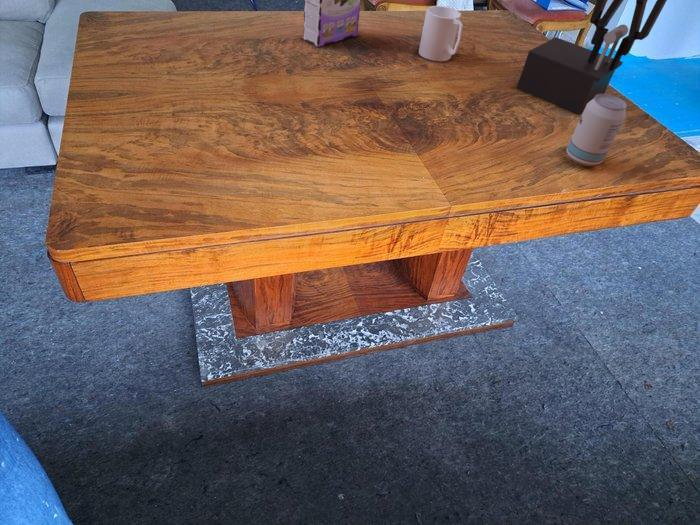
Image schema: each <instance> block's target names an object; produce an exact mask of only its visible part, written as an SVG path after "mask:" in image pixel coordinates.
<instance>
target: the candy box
mask: <svg viewBox="0 0 700 525" xmlns="http://www.w3.org/2000/svg"><path fill="white" fill-rule="evenodd" d="M361 1H362V0H304V7H303V32H302V33H303V37H302V39H303V40H305V41H306V42H308V43H310V44H311V45H313V46H315V47H317V48H318V47H323V46H325V45H330V44H333V43H336V42H339V41H343V40H346V39H349V38H353V37H356V36H358V34H359V22H360V12H361Z"/></svg>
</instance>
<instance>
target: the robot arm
mask: <svg viewBox="0 0 700 525" xmlns="http://www.w3.org/2000/svg"><path fill="white" fill-rule="evenodd" d="M648 1H649V0H635V8H634V11H633V15H632V19H631V22H630V27H629V29H628V33H627V34H628V35H625V36H624V37H622V38H621V42H620V44H619V46H618V48H617V50H616V52H615V54H614V57H613V58H614V59H613V61H612V63H611V65H610V67H609V69H608V70H611V71H612V70H614V69H615V68H616V67H617V65H618V63H619V61H621V59H622V58H623V56H624V57H626V56H627V55H628V54H629V53H630V52H631V49H632V48H633V46H634V44H635V41H636V40H640V41H642V40H644V39H646V38H647V37H648V36H649V35H650V33H651V31H652V29H653V27H654V26H655V24H656V22H657V20H658V18H659V16H660V15H661V12H662V11H663V9H664V6H665V5H666V3H667V1H668V0H656V1H655V3H654V5H653V7H652V8H651V11H650V12H649V15H648V17H647V18H646V20H645V22H644V23H643V18H644V15H645V11H646V6H647V3H648ZM607 2H608V0H597V1H596V3H595V5H594V8H593V11H592V13H591V16H590V19H589V23H590V24H592V25H594V26H595V31H594V33H593V35H592V38H591V40H590V44H591V45H593V47H592V49H591V50H592V52H591V54H590V56H589V59H588V61H587V62H590V63H591V62H593V61H594V60H595V59H596V57H597V55H598V53H600V51H601V48H602V46H603V43H604V36H605V34H606V33H608V32H609V31H610V30H609V28H606V27H607V26H608V24H609V23H610V21H611V20H612V19H613V17H614V15H615V14H616V12H617V11H618V10H619V8H620V7H621V5H622V4H623V2H624V0H612V2H611V3H610V5H609V6H608V8H607V9H606V11H605V13H604V10H605V8H606V5H607ZM642 23H643V26H642ZM641 26H642V28H641ZM640 29H641V30H640ZM615 70H616V69H615Z"/></svg>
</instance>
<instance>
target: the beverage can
mask: <svg viewBox="0 0 700 525" xmlns="http://www.w3.org/2000/svg"><path fill="white" fill-rule="evenodd" d="M627 107H628V104H627V102H625V100H623V99H622V98H620V97H618V96H615V95H613V94H609V93H604V94H597V95H596V96H595V97H594V99H592V100H591V101H590V102H588V103H587V105H586V107H585V109H584V111H583V112H582V113H581V116H580V118H579V120H578V121H577V122H578V123H577V125H576V127H575V129H574V131H573V134H572V136H571V138H570V140H569V142H568V144H567V147H566V150H565V151H566V154H567V156H568V157H569V159H570V160H571V161H572V162H574V163H575V164H577V165H580V166H584V167H593V166H597V165H600V164H602V163H603V161H604V159H605V157H606V155H607V154H608V152H609V150H610V148H611V146H612V144H613V142H614V140H615V138H616V137H617V135H618V133H619V131H620V130H621V127H622V125H623V123H624V121H625V119H626V117H627Z"/></svg>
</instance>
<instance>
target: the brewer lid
mask: <svg viewBox="0 0 700 525" xmlns="http://www.w3.org/2000/svg"><path fill="white" fill-rule="evenodd" d="M627 34H629V27H628V25H626V24H620V25H618V26H616V27H614V28H613V29H611V30H608V32H607V33H606V34H605V36H604V41H603V43H605V44H604V47H603V49H602V51H601V52H599V53H598V55H597V57H596V59H595V60H594V61H593V62H591V63H590V62H587V61H588V59H589V56H590V54H591V52H592V49H589V48H586V47H583V46H581V45H578V44H575V43H572V42H570V41H567V40H564V39H563V38H560V37H556V36H555V37H553V38H551V39H550V40H548V41H546V42H544V43H542V44H539V45H537V46H536V47H534V48H532V49H529V51H528V54H529V55H531V56H534V57H536V58H539V59H541V60H544V61H546V62H549V63H551V64H554V65H557V66H559V67H562V68H564V69H567V70H569V71H572V72H574V73H577V74H579V75H582V76H584V77H587V78H590V79H592V80H595V81H597V82H598V81H600V80H601V79H603V78H604V77H606V76H607V75H608V74H610V73H611V72H613V71H614V70H615V71H616V70H617V69H618V68H620V67H621V66H622V65H623V63H624V62H623V61H622V60H620V61H619V63H618V65H617V67H616V68H615V69H614V70H612V71H611V70H608V69H609V67H610V65H611V63H612V61H613V59H614V57H613V55H614V53H615V51H616V49H617V46H618V44H619V42H620V40H621V39H623V38H625V37H626V36H627ZM610 45H612V46H611V48H610V50H609V47H610ZM608 50H609V52H608ZM607 52H608V55H606V54H607ZM528 54H527V55H528ZM615 71H614V72H615Z"/></svg>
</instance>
